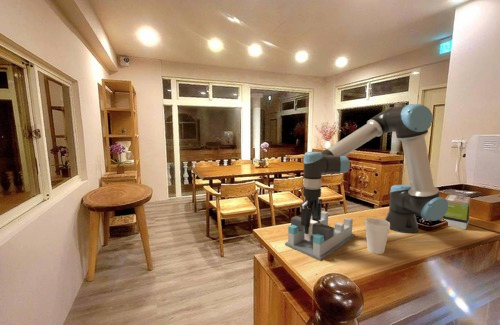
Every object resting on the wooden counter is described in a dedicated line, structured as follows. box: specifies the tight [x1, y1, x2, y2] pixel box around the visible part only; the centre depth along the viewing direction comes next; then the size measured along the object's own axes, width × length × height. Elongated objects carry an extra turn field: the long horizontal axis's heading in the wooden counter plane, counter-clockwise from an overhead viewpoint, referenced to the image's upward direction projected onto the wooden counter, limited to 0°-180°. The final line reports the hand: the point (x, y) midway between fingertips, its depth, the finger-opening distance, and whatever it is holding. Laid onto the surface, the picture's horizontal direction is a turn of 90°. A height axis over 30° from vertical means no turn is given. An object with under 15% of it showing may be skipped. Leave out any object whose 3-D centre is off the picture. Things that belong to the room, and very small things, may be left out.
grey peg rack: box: [284, 210, 356, 262], centre depth 109 cm, size 18×32×9 cm, turn 132°
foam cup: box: [364, 217, 391, 255], centre depth 99 cm, size 10×9×13 cm
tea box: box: [442, 194, 472, 231], centre depth 127 cm, size 15×10×15 cm, turn 133°
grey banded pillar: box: [290, 215, 334, 239], centre depth 102 cm, size 19×5×5 cm, turn 42°
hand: (310, 238), depth 103 cm, fingers closed on grey banded pillar, 5 cm apart
